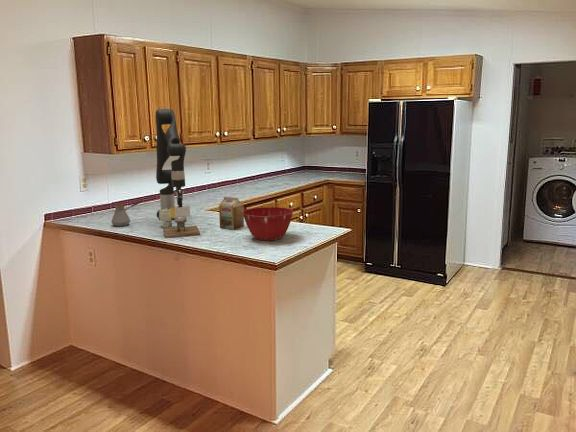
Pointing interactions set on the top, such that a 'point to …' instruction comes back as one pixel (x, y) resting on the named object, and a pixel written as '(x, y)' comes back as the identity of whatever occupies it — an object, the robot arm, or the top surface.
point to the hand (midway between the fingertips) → (179, 206)
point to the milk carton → (231, 214)
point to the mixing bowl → (268, 222)
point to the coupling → (180, 213)
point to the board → (177, 233)
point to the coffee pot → (122, 215)
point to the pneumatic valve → (165, 217)
